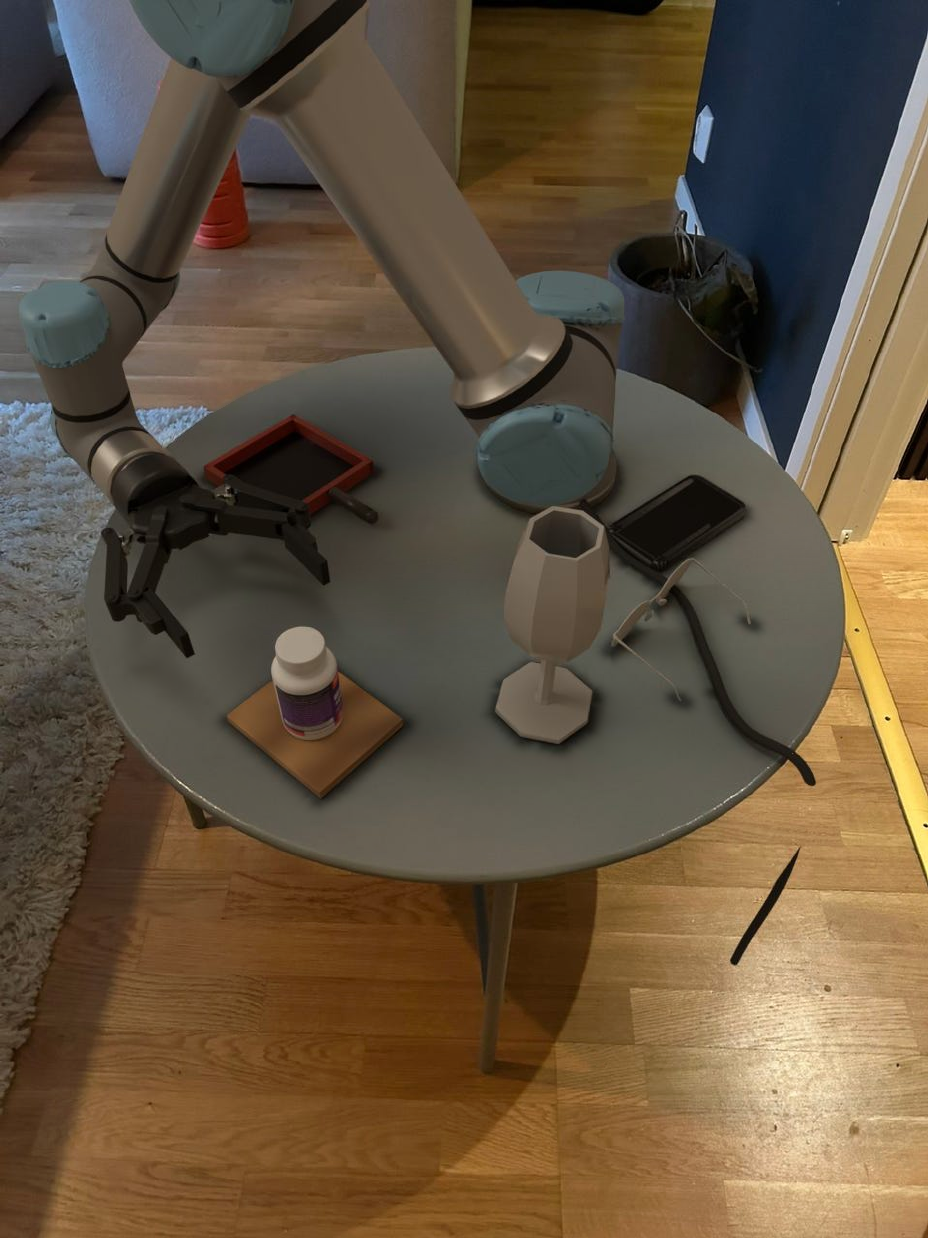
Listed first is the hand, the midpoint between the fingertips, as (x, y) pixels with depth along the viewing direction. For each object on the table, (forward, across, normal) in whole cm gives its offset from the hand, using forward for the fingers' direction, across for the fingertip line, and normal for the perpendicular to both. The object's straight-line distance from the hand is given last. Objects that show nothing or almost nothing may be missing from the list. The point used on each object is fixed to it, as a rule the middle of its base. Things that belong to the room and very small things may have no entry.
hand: (259, 608), depth 78 cm
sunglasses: (+21, -33, -9) cm, 40 cm away
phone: (+10, -45, -9) cm, 47 cm away
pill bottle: (+7, 0, -8) cm, 11 cm away
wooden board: (+7, 0, -9) cm, 11 cm away
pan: (-21, -17, -9) cm, 28 cm away
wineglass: (+18, -17, -9) cm, 27 cm away
